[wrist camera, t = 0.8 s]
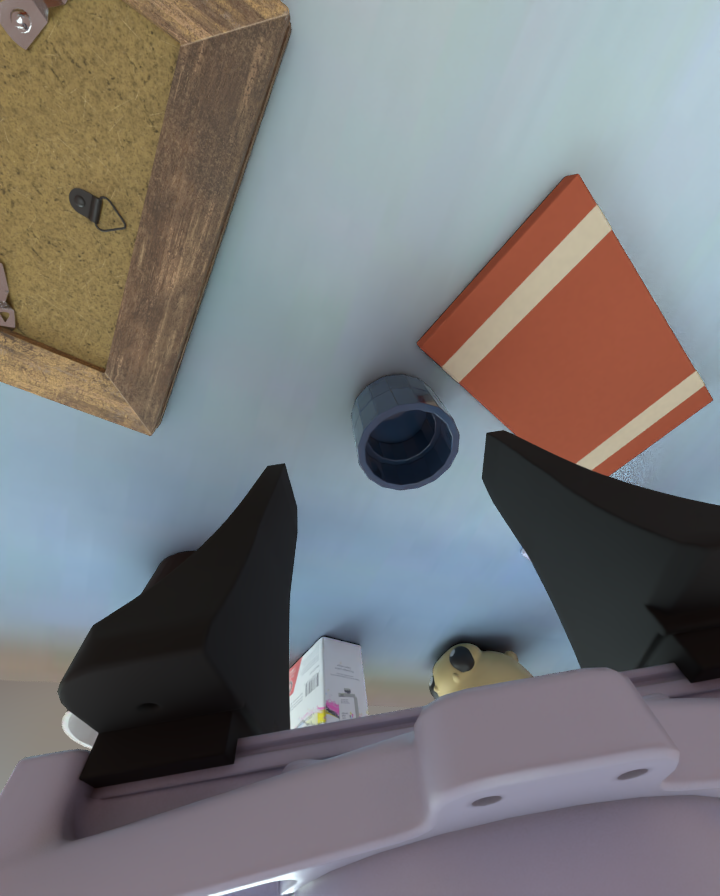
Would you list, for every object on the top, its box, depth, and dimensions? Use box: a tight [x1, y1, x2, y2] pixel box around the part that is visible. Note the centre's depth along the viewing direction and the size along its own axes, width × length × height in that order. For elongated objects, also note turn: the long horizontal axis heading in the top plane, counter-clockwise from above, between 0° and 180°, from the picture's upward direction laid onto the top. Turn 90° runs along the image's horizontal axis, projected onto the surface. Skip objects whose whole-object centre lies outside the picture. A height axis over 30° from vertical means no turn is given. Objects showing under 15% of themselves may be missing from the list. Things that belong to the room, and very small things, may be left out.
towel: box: [417, 174, 713, 476], centre depth 21 cm, size 18×10×1 cm, turn 50°
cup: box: [351, 374, 459, 490], centre depth 20 cm, size 5×5×4 cm
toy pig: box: [429, 643, 533, 699], centre depth 36 cm, size 10×12×11 cm
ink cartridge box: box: [289, 637, 369, 729], centre depth 31 cm, size 9×5×15 cm, turn 146°
